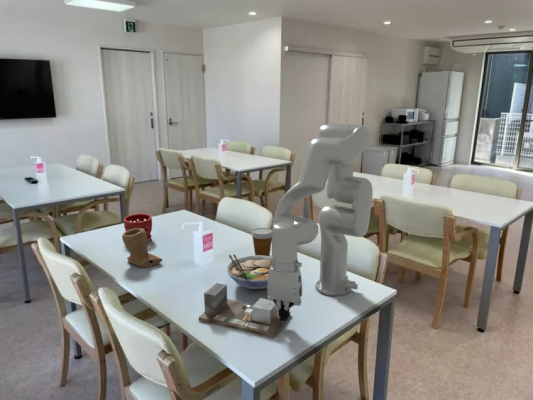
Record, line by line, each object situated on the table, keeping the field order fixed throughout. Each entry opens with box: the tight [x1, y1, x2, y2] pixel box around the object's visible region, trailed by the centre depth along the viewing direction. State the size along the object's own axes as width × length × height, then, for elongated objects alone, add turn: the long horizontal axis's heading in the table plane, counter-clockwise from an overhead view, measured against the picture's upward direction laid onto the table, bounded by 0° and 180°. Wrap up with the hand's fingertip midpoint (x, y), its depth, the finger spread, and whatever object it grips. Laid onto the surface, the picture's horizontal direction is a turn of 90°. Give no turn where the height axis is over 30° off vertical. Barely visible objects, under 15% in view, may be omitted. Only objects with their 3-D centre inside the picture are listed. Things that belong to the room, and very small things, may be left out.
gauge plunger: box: [242, 297, 278, 325], centre depth 129 cm, size 10×6×5 cm, turn 67°
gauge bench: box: [198, 282, 291, 339], centre depth 131 cm, size 26×14×8 cm, turn 67°
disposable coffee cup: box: [251, 227, 272, 256], centre depth 180 cm, size 10×10×12 cm
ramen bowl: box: [226, 254, 272, 290], centre depth 154 cm, size 25×23×8 cm
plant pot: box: [123, 213, 153, 242], centre depth 200 cm, size 13×13×12 cm
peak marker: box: [242, 308, 252, 322], centre depth 127 cm, size 2×5×3 cm, turn 157°
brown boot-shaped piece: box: [121, 228, 163, 268], centre depth 173 cm, size 15×12×15 cm
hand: (284, 319), depth 126 cm, fingers closed
